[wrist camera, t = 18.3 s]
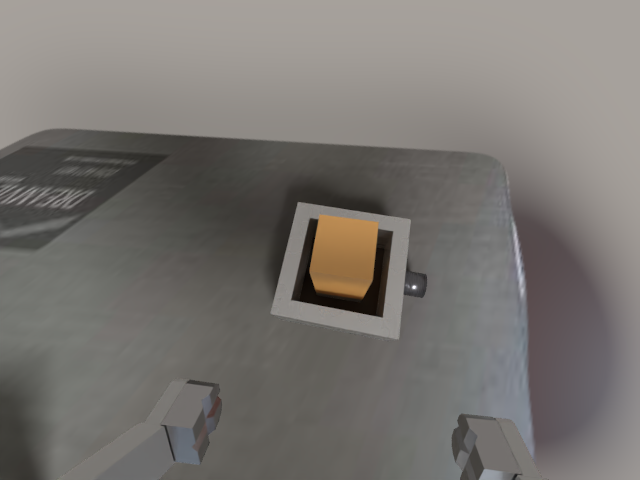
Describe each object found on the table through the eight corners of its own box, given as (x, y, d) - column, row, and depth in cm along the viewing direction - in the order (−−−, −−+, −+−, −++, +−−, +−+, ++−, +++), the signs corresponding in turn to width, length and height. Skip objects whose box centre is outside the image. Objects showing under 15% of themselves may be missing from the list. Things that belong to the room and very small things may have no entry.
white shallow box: (280, 319, 26) (270, 313, 22) (303, 222, 30) (297, 201, 25) (411, 345, 25) (427, 345, 21) (420, 242, 28) (435, 223, 24)
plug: (317, 295, 27) (309, 271, 19) (323, 254, 28) (319, 214, 20) (360, 302, 27) (372, 280, 18) (365, 260, 28) (378, 222, 20)
